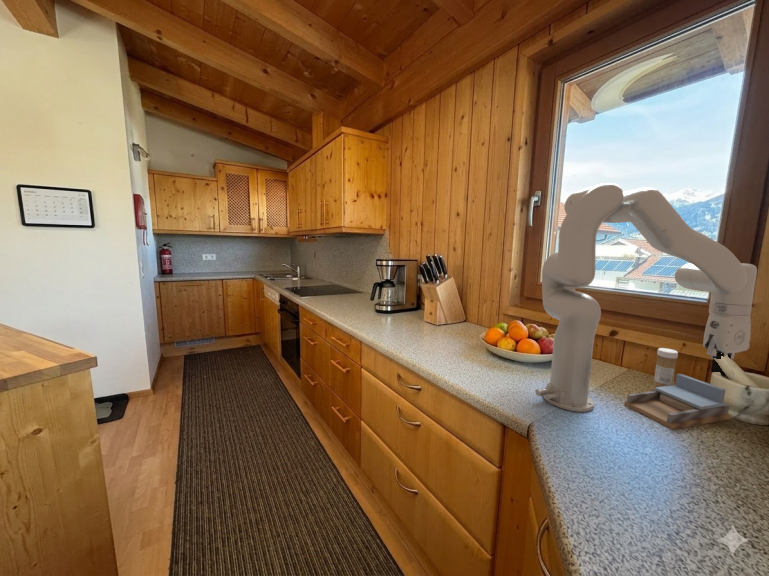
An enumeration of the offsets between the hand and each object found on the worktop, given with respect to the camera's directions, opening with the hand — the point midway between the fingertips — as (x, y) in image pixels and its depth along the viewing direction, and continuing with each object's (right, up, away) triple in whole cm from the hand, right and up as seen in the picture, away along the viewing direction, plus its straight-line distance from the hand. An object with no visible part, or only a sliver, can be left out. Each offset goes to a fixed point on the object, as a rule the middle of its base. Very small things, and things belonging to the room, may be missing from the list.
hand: (720, 374), depth 86 cm
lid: (-10, -6, -2) cm, 12 cm away
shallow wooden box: (-14, -10, -2) cm, 17 cm away
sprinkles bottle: (-8, -8, +9) cm, 15 cm away
